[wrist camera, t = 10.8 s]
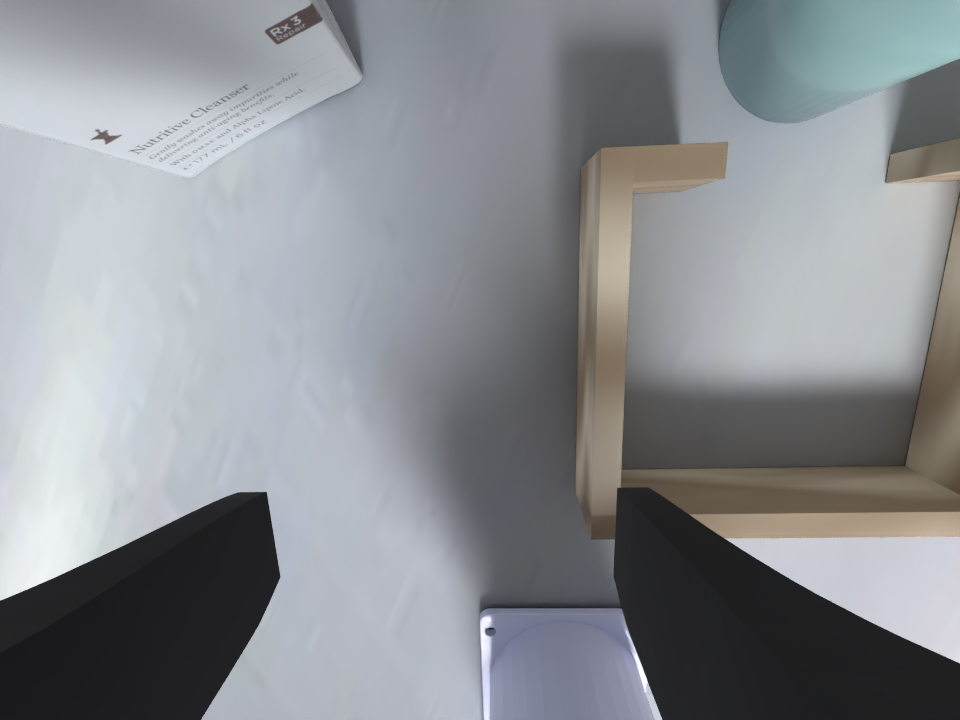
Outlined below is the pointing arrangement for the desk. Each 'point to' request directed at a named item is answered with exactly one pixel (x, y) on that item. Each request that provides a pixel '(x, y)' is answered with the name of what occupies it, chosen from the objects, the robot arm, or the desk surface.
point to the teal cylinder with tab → (830, 51)
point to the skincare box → (166, 73)
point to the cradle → (753, 491)
